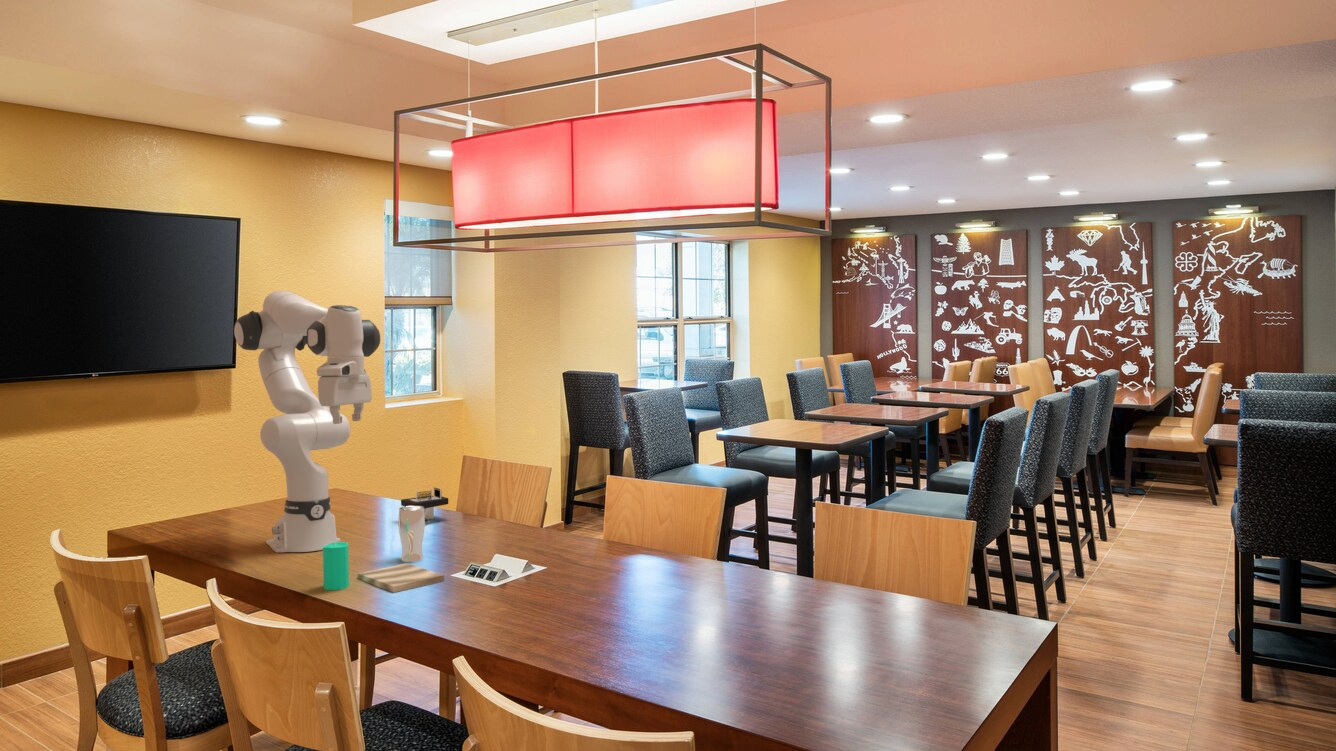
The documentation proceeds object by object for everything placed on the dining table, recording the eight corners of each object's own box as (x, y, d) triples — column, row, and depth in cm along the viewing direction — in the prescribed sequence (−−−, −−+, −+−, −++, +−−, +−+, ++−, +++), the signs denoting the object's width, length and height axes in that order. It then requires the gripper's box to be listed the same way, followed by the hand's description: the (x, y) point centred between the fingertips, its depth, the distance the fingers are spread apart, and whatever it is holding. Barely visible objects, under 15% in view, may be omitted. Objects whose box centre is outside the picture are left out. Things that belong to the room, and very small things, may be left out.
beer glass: (417, 565, 236) (417, 510, 236) (394, 564, 238) (393, 509, 237) (429, 559, 243) (429, 505, 243) (406, 558, 244) (406, 505, 244)
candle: (344, 582, 220) (343, 534, 219) (352, 587, 215) (351, 539, 214) (320, 586, 216) (319, 538, 215) (327, 591, 211) (326, 542, 211)
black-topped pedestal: (403, 543, 264) (402, 500, 264) (368, 530, 284) (367, 489, 284) (485, 530, 283) (484, 489, 282) (447, 519, 303) (446, 480, 302)
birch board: (357, 579, 222) (357, 573, 222) (407, 568, 233) (407, 563, 233) (393, 592, 210) (393, 586, 210) (444, 581, 220) (444, 575, 220)
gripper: (355, 368, 234) (356, 419, 234) (312, 369, 214) (314, 425, 214) (377, 367, 233) (378, 419, 233) (336, 368, 213) (338, 425, 213)
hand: (347, 422), depth 224 cm, fingers open, 8 cm apart
